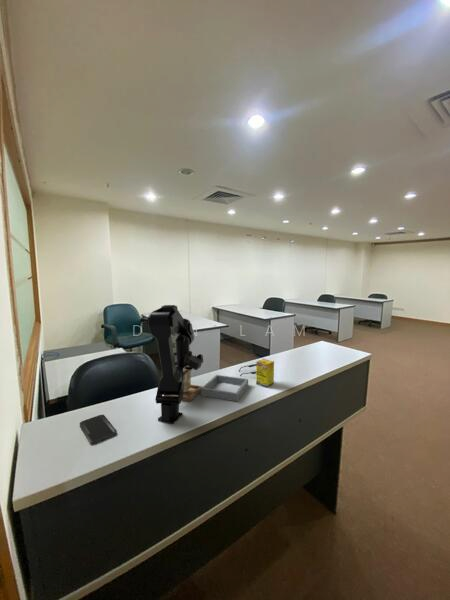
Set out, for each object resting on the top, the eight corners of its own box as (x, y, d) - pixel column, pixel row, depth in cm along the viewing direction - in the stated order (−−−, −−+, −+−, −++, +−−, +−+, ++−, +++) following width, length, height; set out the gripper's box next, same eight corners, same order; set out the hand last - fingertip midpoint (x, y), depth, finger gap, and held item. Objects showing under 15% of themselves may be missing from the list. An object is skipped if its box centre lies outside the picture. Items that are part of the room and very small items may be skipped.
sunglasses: (264, 377, 123) (263, 367, 123) (240, 381, 123) (239, 371, 122) (260, 369, 134) (259, 360, 133) (238, 373, 133) (237, 364, 133)
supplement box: (256, 384, 115) (256, 361, 114) (263, 380, 120) (263, 358, 119) (266, 388, 111) (266, 364, 110) (274, 383, 115) (274, 361, 115)
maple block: (185, 391, 104) (185, 373, 103) (176, 390, 105) (175, 372, 104) (190, 387, 108) (190, 369, 107) (181, 386, 109) (181, 368, 109)
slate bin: (237, 401, 99) (237, 394, 99) (201, 395, 105) (201, 388, 105) (248, 385, 114) (248, 379, 114) (216, 380, 120) (216, 374, 119)
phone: (103, 413, 90) (117, 432, 79) (103, 416, 90) (118, 435, 79) (78, 422, 85) (90, 443, 74) (78, 425, 85) (90, 447, 74)
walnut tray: (189, 402, 99) (189, 398, 99) (163, 397, 103) (163, 394, 103) (202, 389, 110) (202, 386, 110) (179, 385, 114) (179, 382, 114)
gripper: (188, 358, 93) (189, 398, 95) (209, 345, 111) (209, 379, 112) (163, 355, 97) (164, 393, 99) (187, 343, 115) (188, 376, 116)
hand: (183, 385), depth 106 cm, fingers closed on maple block, 4 cm apart
